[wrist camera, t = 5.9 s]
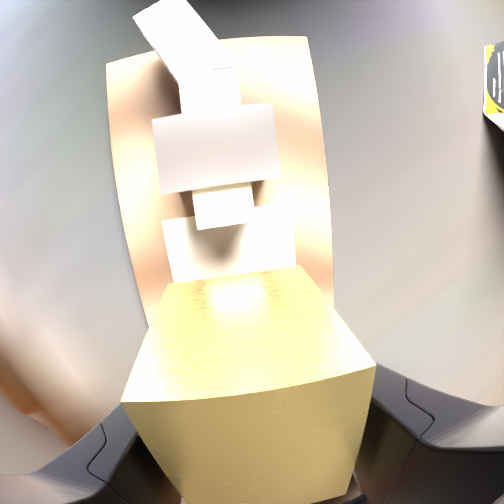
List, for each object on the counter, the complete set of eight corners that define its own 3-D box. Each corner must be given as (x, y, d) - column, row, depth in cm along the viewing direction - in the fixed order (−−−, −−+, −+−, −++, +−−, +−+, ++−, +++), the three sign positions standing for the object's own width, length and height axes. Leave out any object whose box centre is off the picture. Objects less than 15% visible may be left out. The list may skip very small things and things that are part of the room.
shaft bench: (322, 414, 20) (343, 464, 15) (196, 433, 19) (195, 487, 14) (296, 31, 12) (326, -17, 7) (115, 56, 12) (75, 17, 7)
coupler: (299, 264, 9) (376, 365, 4) (305, 386, 10) (345, 494, 5) (168, 283, 9) (120, 401, 4) (201, 402, 10) (198, 516, 5)
